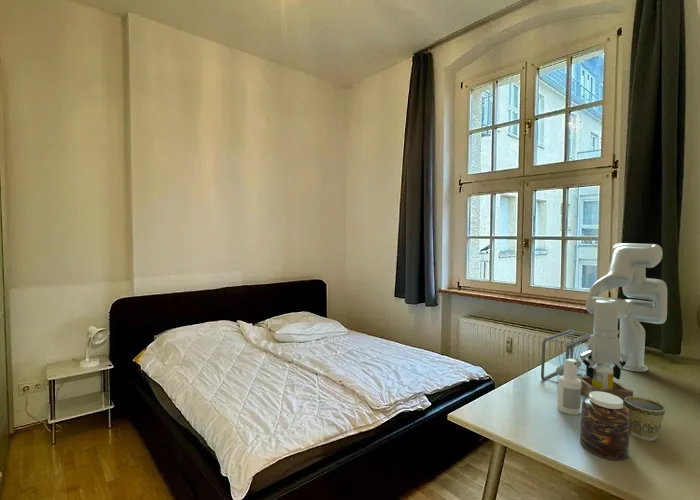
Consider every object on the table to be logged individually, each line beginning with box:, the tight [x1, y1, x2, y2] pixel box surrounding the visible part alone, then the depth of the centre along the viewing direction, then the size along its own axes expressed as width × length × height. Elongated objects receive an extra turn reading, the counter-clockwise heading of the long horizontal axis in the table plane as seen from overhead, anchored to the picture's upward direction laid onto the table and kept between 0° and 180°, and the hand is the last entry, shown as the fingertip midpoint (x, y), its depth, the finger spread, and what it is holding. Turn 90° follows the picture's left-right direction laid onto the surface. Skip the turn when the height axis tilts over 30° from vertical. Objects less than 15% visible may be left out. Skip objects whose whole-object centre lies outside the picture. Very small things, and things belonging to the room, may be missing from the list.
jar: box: [579, 391, 630, 461], centre depth 109 cm, size 12×12×15 cm
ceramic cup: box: [624, 395, 666, 442], centre depth 117 cm, size 13×10×10 cm
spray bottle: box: [557, 357, 582, 416], centre depth 132 cm, size 7×7×18 cm
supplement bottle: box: [592, 363, 614, 390], centre depth 144 cm, size 7×7×13 cm
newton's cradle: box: [540, 328, 596, 385], centre depth 163 cm, size 30×10×18 cm, turn 129°
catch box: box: [577, 375, 634, 406], centre depth 144 cm, size 13×13×5 cm
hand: (602, 377), depth 144 cm, fingers open, 9 cm apart
